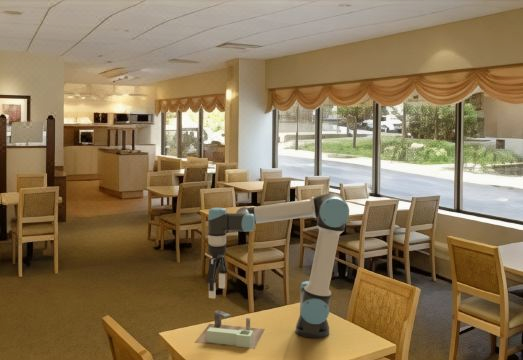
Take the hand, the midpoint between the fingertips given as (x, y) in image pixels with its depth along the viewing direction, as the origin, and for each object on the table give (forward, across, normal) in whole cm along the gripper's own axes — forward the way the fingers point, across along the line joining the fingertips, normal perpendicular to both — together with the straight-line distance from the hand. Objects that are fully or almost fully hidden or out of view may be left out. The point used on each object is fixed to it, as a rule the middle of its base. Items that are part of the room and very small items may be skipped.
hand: (217, 292), depth 230 cm
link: (+20, +4, +7) cm, 21 cm away
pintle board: (+21, -3, +5) cm, 22 cm away
